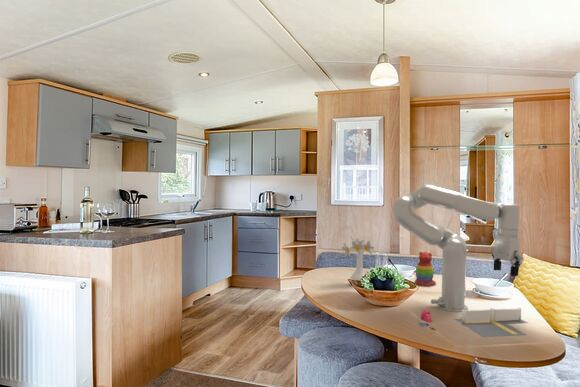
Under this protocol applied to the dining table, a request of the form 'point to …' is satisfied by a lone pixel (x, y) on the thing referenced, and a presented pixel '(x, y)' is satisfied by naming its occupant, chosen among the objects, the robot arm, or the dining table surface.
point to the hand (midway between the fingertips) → (505, 272)
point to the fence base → (488, 323)
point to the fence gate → (507, 314)
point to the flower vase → (358, 256)
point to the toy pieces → (426, 319)
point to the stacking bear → (425, 270)
